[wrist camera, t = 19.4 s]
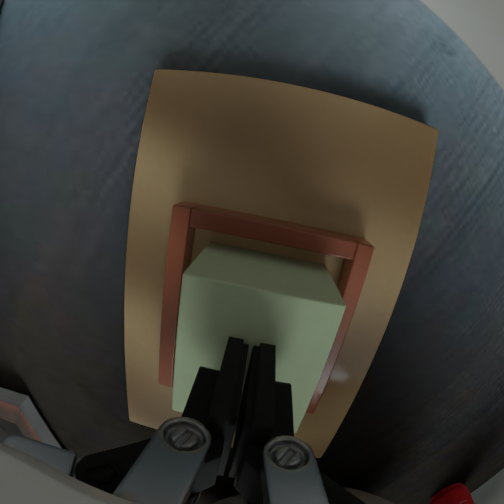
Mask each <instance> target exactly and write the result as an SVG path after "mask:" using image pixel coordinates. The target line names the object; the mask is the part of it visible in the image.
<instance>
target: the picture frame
mask: <svg viewBox="0 0 504 504" xmlns="http://www.w3.org/2000/svg"><path fill="white" fill-rule="evenodd" d="M12 435H21V436H25V437H28V438H31V439H34V440H36V441H39V442H43V443H46V444H49V445H52V446H55V447H59V448H62V447H61V446H60V444H59V443H58V441H57V440H56V438H55V436H54V435H53V433H52V432H51V431H50V429H49V427H48V425H47V423H46V422H45V421H44V420H43V418H42V416H41V415H40V413H39V411H38V410H37V408H36V407H35V405H34V403H33V401H32V399H31V397H30V396H29V395H26V394H22V393H19V392H16V391H12V390H9V389H6V388H3V387H0V443H2V442H3V441H4V440H5V439H6V438H7V437H9V436H12ZM62 449H63V448H62Z"/></svg>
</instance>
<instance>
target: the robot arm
mask: <svg viewBox="0 0 504 504" xmlns="http://www.w3.org/2000/svg"><path fill="white" fill-rule="evenodd" d="M243 342H244V339H240V338H235V337H230V336H229V338H228V342H227V345H226V349H225V353H224V357H223V360H222V364H221V368H220V370H215V369H211V368H206V367H202V366H200V367H199V370H198V372H197V375H196V378H195V381H194V383H193V386H192V389H191V392H190V394H189V397H188V400H187V403H186V405H185V408H184V411H183V414H182V416H181V417H175V418H170V419H168V420H166V421H164V422H163V423H162V424H161V425H160V427H159V428H158V430H157V431H156V432H155V434H154V435H153V437H152V438H150V439H147V440H143V441H140V442H137V443H133V444H130V445H126V446H122V447H119V448H115V449H111V450H107V451H103V452H98V453H94V454H90V455H88V456H85V457H82V456H78V455H77V454H76V452H74V451H70V450H66V449H62V448H59V447H55V446H52V445H49V444H46V443H43V442H39V441H36V440H34V439H31V438H28V437H25V436H21V435H12V436H9V437H7V438H6V439H5V440H4V441H3V442H2V443H0V504H197V502H198V500H199V498H200V495H201V492H202V491H203V490H205V489H207V488H209V487H211V486H213V485H215V481H216V477H217V475H222V476H223V474H224V470H225V467H226V463H227V459H228V456H229V452H230V448H231V444H232V441H233V437H234V443H233V449H232V455H231V462H230V468H229V474H228V477H233V478H234V483H233V486H236V487H235V489H236V490H237V491H238V492H239V493H240V494H241V495H242V496H243V504H366V503H364V502H363V501H362V500H360V499H359V498H357V497H356V496H354V495H353V494H351V493H350V492H348V491H347V490H346V489H344V488H343V487H341V486H340V485H339V484H337V483H336V482H334V481H333V480H332V479H330V478H329V477H328V476H326V475H325V474H324V473H322V472H321V471H320V470H319V468H318V465H317V461H316V458H315V455H314V452H313V450H312V448H311V447H310V446H309V445H308V444H307V443H306V442H305V441H303V440H301V439H299V438H296V437H294V424H293V404H292V387H291V384H290V383H285V382H278V381H276V345H271V344H266V343H260V345H259V346H255V345H254V346H253V350H252V354H251V359H250V363H249V367H248V371H247V375H246V379H245V383H244V376H245V369H246V362H247V355H248V349H249V344H245V343H243ZM243 383H244V387H243ZM242 389H243V392H242ZM235 429H236V430H235ZM234 433H235V436H234Z"/></svg>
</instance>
